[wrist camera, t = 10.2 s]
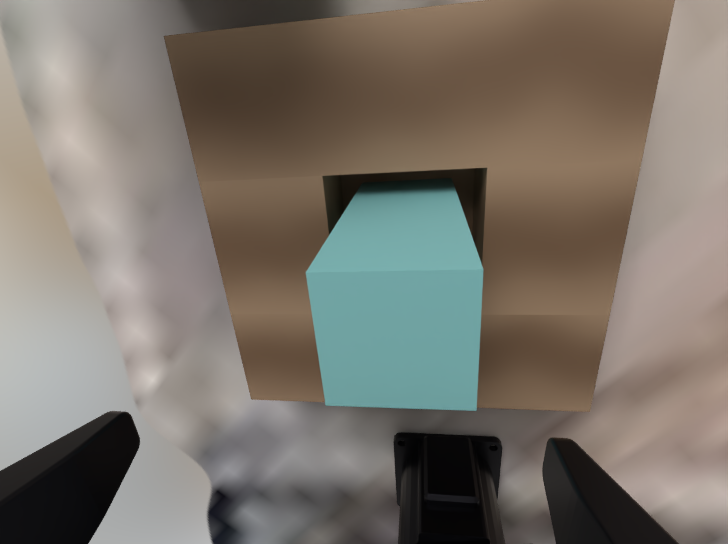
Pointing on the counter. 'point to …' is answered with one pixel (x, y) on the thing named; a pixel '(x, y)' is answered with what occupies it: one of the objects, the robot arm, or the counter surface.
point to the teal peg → (399, 300)
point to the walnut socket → (430, 168)
